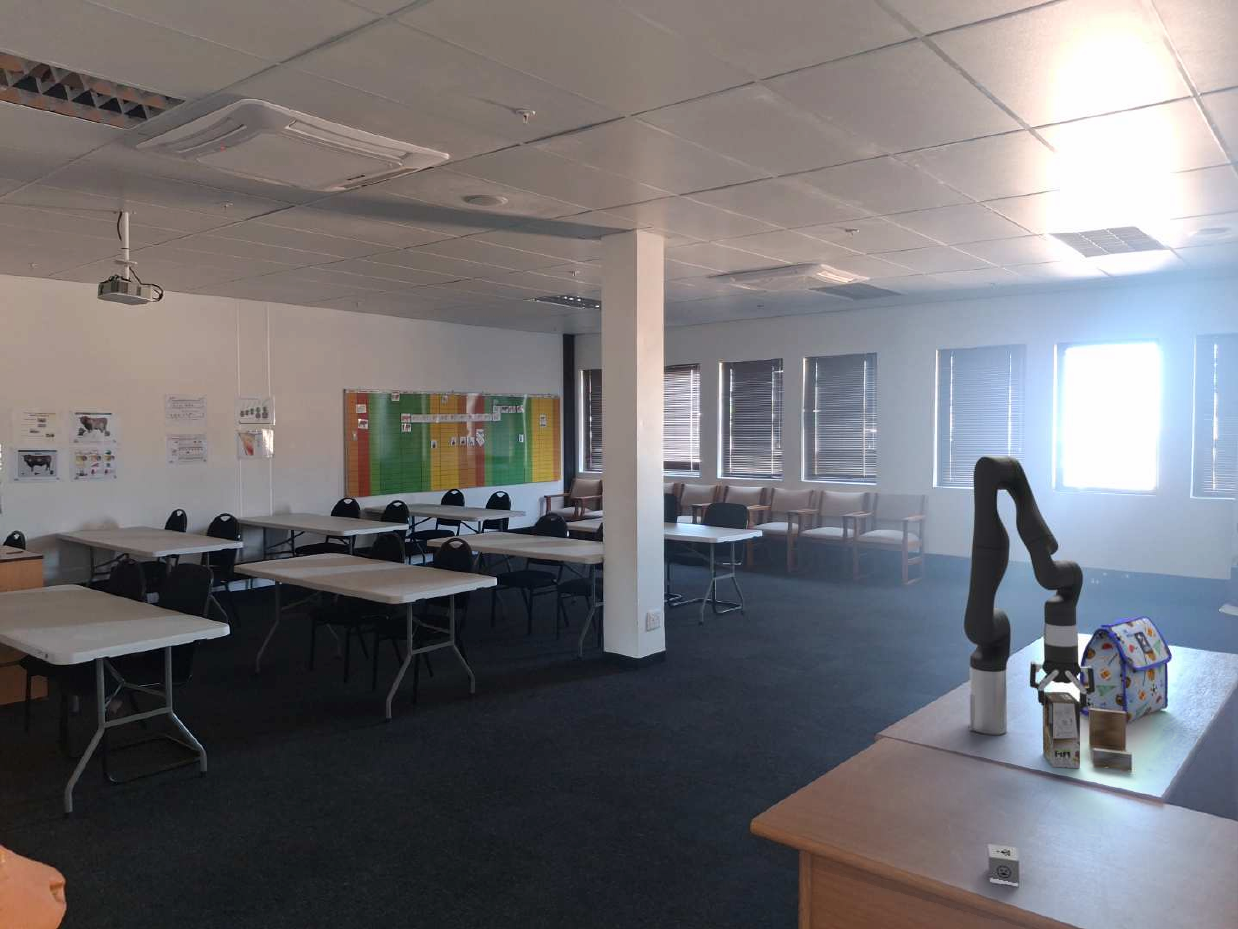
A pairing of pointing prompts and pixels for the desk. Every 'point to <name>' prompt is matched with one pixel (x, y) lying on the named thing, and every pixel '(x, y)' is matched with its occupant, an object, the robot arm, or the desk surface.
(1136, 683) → the lunch bag
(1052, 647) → the robot arm
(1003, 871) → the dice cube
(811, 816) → the desk surface
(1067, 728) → the coffee box
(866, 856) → the desk surface
